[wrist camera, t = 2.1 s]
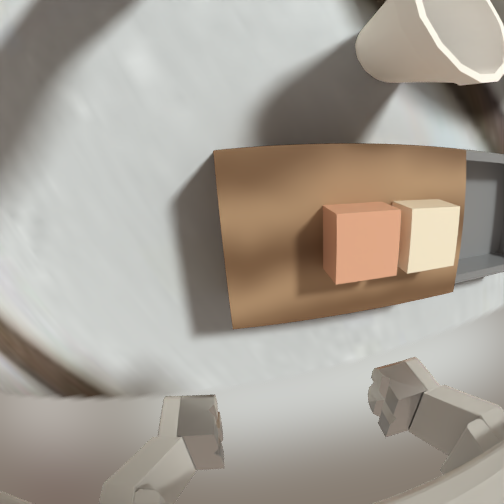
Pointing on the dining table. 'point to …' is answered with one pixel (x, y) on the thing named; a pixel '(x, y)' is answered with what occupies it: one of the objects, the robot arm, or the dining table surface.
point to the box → (482, 217)
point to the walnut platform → (321, 224)
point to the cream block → (427, 234)
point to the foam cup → (433, 42)
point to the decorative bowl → (499, 8)
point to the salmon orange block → (360, 241)
